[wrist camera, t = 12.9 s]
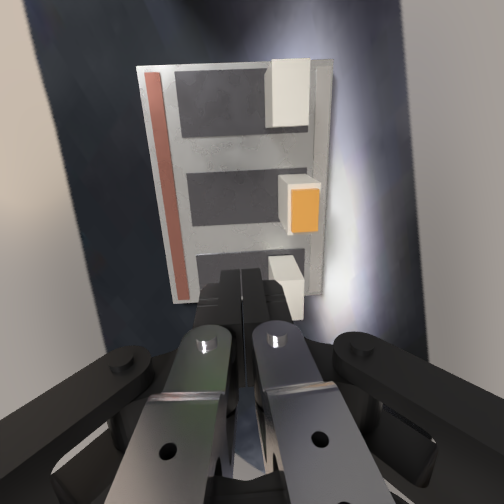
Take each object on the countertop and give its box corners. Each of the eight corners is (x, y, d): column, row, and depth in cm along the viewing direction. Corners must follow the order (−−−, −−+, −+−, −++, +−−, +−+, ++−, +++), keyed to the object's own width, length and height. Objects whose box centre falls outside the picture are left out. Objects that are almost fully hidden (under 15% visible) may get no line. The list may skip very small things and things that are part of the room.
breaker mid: (277, 174, 27) (289, 185, 22) (305, 173, 28) (323, 183, 22) (278, 217, 29) (288, 237, 23) (304, 216, 29) (320, 236, 23)
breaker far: (268, 256, 30) (274, 281, 25) (292, 255, 30) (304, 279, 25) (269, 291, 32) (275, 321, 27) (292, 289, 32) (303, 319, 27)
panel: (143, 70, 26) (135, 65, 24) (326, 64, 26) (334, 58, 24) (176, 294, 34) (173, 304, 32) (316, 285, 35) (321, 295, 33)
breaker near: (264, 74, 24) (272, 59, 19) (294, 73, 25) (310, 58, 19) (265, 127, 26) (272, 126, 21) (294, 126, 26) (308, 125, 21)
